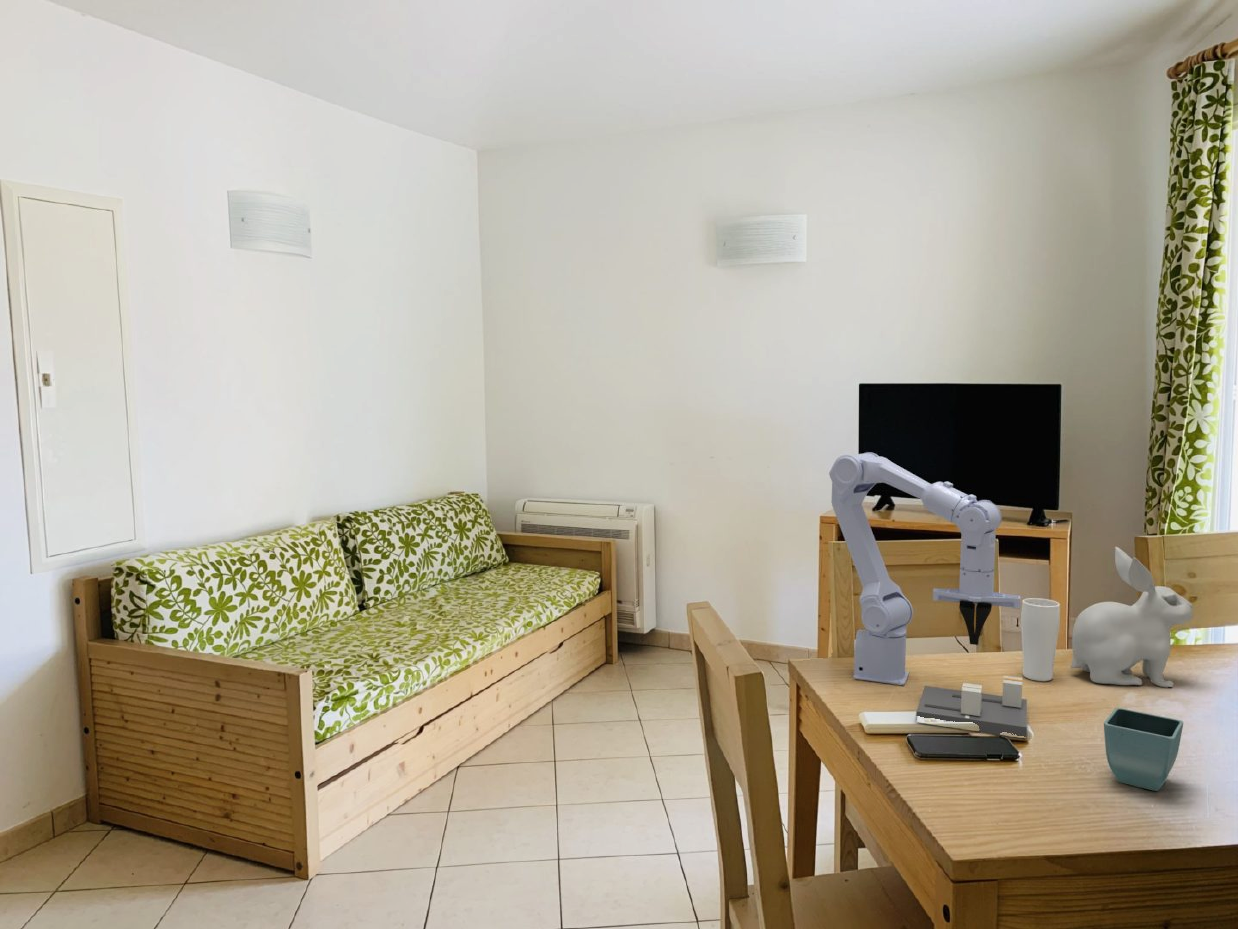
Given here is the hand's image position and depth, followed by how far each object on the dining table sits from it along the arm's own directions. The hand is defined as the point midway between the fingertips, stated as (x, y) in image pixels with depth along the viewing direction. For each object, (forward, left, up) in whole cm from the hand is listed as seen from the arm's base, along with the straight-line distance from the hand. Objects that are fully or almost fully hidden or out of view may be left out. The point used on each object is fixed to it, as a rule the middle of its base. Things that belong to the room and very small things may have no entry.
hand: (974, 643), depth 163 cm
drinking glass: (+11, +18, -11) cm, 24 cm away
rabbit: (+27, +24, -11) cm, 38 cm away
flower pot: (+24, -26, -11) cm, 37 cm away
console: (0, -9, -10) cm, 14 cm away
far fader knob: (+7, -5, -8) cm, 12 cm away
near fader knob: (0, -13, -8) cm, 15 cm away
